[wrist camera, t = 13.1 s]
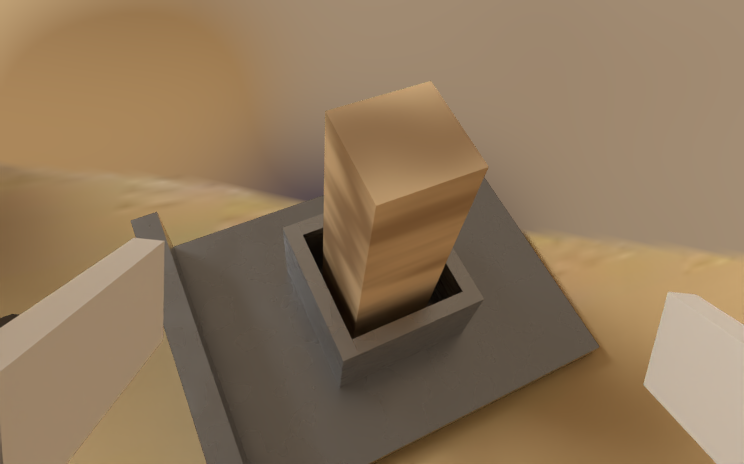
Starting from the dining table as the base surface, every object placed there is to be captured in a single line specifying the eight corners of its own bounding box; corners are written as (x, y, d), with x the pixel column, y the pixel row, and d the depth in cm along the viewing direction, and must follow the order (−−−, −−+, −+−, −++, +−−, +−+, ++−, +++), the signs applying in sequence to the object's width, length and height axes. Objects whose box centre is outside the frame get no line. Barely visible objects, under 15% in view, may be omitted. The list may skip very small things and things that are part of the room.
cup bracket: (154, 262, 34) (124, 210, 29) (460, 155, 40) (481, 97, 35) (240, 529, 27) (222, 525, 22) (592, 352, 33) (642, 315, 28)
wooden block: (322, 282, 33) (325, 111, 20) (388, 258, 34) (431, 80, 21) (351, 348, 31) (376, 205, 18) (420, 319, 32) (488, 166, 20)
